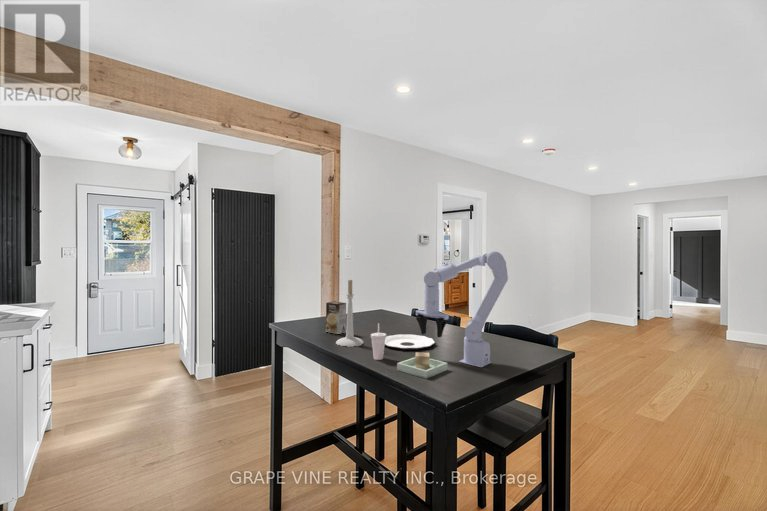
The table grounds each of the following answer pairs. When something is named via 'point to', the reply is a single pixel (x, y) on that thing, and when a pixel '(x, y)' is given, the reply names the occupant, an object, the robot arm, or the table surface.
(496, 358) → the table surface
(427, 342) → the plate
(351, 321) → the candlestick
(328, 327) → the coffee box
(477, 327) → the robot arm
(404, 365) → the green tray
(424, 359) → the maple cube
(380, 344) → the smoothie
